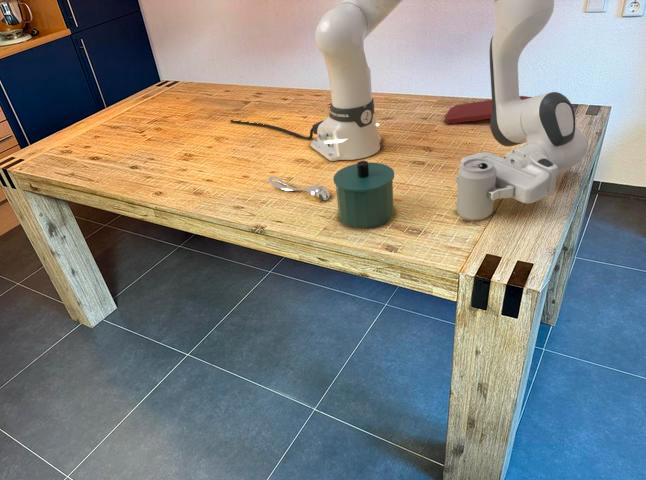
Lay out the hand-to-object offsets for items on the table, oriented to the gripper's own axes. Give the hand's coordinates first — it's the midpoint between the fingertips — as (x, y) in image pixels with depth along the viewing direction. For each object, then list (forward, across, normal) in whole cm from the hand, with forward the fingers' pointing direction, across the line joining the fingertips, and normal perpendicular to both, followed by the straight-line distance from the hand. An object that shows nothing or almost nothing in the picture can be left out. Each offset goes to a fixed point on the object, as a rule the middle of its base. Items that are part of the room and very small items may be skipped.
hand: (473, 187), depth 107 cm
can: (-1, 0, +7) cm, 7 cm away
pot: (+17, -15, +7) cm, 24 cm away
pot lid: (+17, -15, -3) cm, 23 cm away
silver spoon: (+24, -37, +7) cm, 45 cm away
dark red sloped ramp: (-42, -38, +7) cm, 57 cm away
